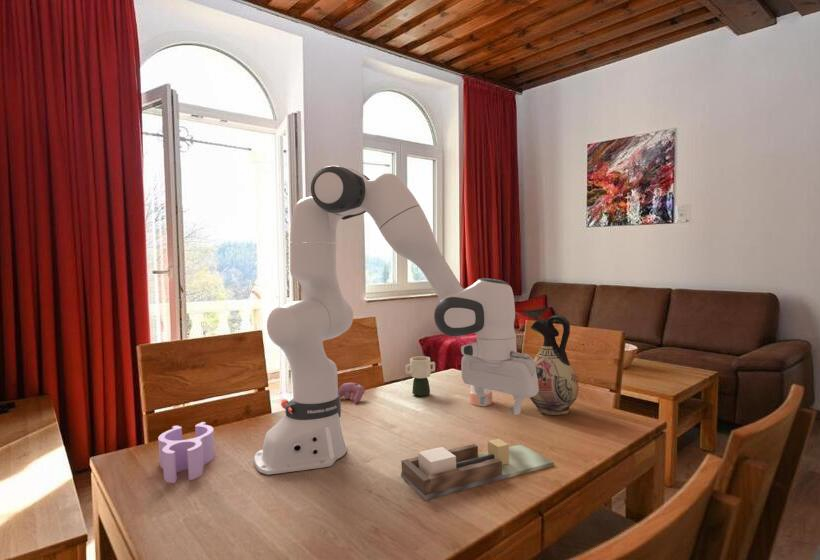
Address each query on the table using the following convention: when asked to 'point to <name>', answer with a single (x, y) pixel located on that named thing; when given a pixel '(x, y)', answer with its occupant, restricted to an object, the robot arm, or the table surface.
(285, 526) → the table surface
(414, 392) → the cream green tall piece
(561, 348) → the ceramic jug
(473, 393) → the pepper shaker
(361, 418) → the table surface
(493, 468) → the shelf lane
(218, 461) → the table surface
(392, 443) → the table surface
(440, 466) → the block plunger with rod
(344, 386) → the video game controller
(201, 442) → the clip
